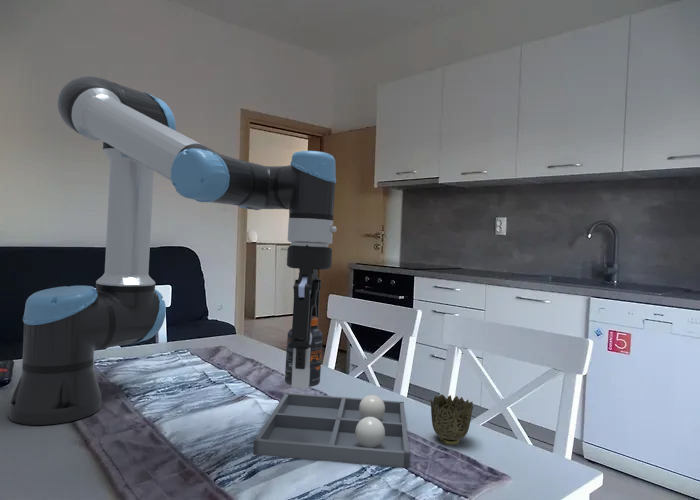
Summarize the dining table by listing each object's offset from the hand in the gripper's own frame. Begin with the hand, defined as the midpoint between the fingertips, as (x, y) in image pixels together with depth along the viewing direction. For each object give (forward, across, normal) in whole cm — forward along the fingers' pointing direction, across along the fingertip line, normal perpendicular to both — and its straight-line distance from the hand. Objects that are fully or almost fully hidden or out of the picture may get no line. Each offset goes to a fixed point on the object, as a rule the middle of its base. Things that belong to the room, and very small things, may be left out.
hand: (303, 381), depth 82 cm
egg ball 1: (+10, +12, -12) cm, 20 cm away
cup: (+12, +6, -26) cm, 29 cm away
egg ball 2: (+10, 0, -12) cm, 16 cm away
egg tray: (+11, +6, -6) cm, 14 cm away
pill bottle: (0, 0, 0) cm, 1 cm away
